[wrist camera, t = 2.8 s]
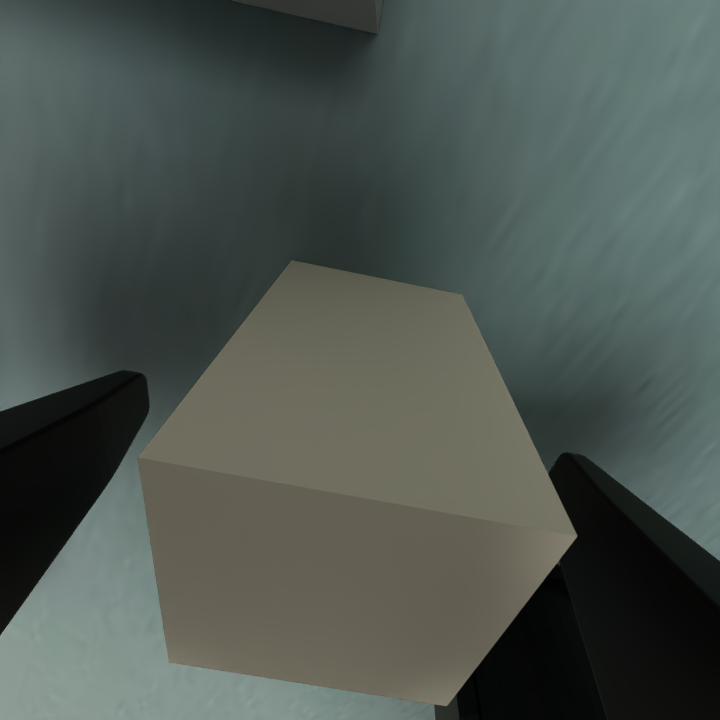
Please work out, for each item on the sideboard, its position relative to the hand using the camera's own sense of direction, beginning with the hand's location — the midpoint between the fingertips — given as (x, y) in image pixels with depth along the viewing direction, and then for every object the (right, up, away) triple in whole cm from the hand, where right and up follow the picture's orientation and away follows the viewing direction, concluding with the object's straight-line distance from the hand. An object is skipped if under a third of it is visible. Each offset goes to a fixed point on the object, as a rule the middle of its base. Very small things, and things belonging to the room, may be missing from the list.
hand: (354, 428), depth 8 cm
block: (0, +2, +3) cm, 3 cm away
